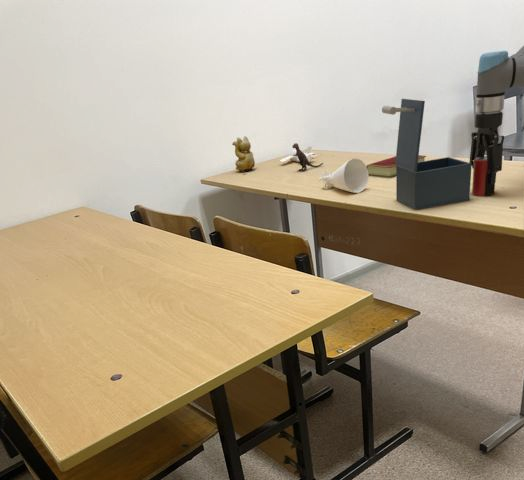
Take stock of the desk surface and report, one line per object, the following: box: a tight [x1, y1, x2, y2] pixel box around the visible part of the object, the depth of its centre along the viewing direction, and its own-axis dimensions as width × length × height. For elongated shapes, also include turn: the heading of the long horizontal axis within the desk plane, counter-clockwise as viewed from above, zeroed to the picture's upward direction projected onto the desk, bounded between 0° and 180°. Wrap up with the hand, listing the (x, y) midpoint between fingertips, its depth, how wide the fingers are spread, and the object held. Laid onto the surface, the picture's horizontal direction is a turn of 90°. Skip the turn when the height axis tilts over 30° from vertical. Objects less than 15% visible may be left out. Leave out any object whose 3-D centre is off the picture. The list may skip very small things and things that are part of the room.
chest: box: [395, 156, 472, 211], centre depth 163 cm, size 18×14×11 cm
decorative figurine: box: [231, 135, 256, 173], centre depth 245 cm, size 10×8×15 cm
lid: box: [381, 98, 426, 171], centre depth 155 cm, size 19×14×8 cm
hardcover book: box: [366, 154, 427, 179], centre depth 208 cm, size 12×21×4 cm, turn 127°
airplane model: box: [278, 146, 317, 163], centre depth 248 cm, size 20×20×8 cm
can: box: [471, 155, 493, 197], centre depth 163 cm, size 6×6×11 cm
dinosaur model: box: [291, 143, 324, 172], centre depth 231 cm, size 4×12×15 cm
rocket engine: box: [318, 157, 370, 194], centre depth 192 cm, size 12×12×18 cm
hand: (482, 191), depth 166 cm, fingers closed on can, 6 cm apart
